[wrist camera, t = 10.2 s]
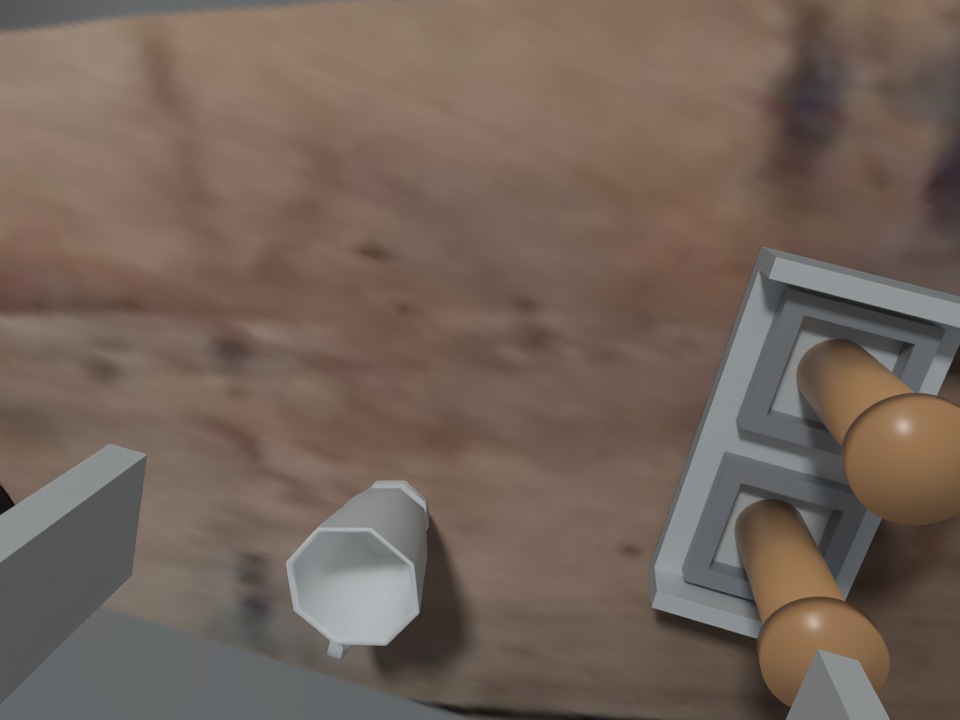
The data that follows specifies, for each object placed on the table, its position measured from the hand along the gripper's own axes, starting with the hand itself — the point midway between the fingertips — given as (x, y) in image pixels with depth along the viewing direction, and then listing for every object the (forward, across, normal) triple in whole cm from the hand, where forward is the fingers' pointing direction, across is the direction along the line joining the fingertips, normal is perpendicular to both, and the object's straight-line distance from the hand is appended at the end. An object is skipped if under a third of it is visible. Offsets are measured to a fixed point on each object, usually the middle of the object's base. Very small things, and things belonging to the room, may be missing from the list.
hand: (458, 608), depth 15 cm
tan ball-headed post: (+26, +15, +1) cm, 30 cm away
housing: (+27, +15, -4) cm, 31 cm away
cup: (+28, -5, -16) cm, 33 cm away
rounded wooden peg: (+26, +15, -8) cm, 31 cm away
